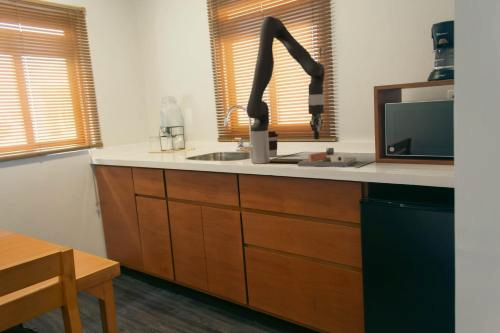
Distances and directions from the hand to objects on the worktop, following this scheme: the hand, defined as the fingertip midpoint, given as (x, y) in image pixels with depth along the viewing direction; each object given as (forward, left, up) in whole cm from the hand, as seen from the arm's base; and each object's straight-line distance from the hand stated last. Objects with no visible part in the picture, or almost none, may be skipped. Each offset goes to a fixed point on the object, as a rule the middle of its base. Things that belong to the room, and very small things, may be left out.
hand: (316, 139), depth 197 cm
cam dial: (+4, -4, -10) cm, 11 cm away
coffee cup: (-38, +25, -12) cm, 47 cm away
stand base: (+6, -2, -12) cm, 14 cm away
